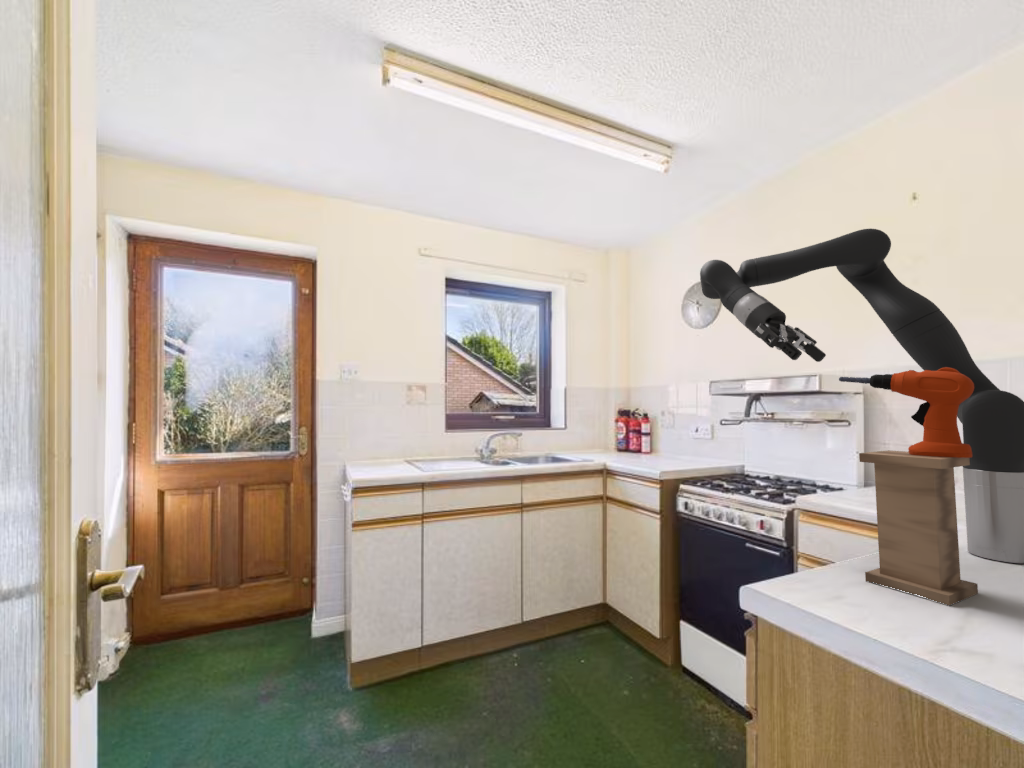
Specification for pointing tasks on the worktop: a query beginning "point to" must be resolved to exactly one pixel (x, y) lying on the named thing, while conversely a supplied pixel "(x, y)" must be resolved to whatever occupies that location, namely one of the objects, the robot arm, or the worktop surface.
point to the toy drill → (931, 406)
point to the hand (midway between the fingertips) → (810, 357)
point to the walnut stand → (918, 525)
